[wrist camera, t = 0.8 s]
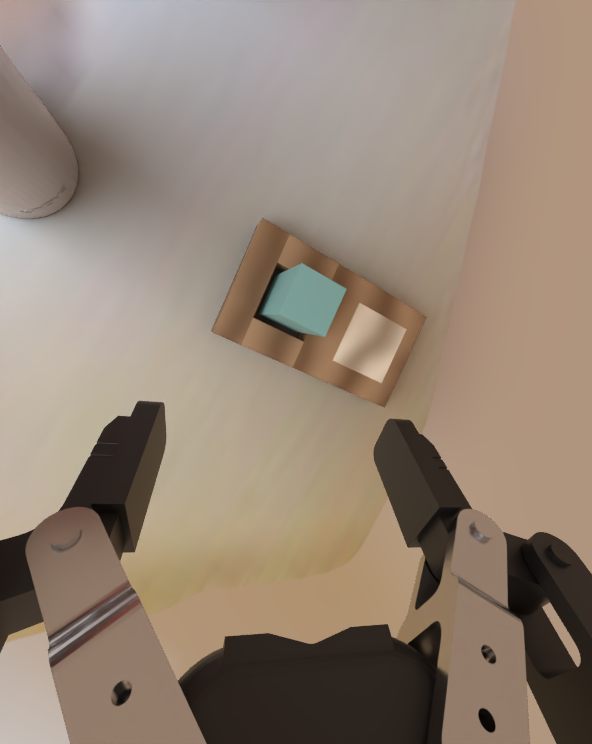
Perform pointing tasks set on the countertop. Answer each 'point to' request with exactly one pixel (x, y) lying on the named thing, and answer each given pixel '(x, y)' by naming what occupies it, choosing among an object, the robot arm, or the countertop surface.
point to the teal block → (303, 300)
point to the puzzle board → (346, 333)
